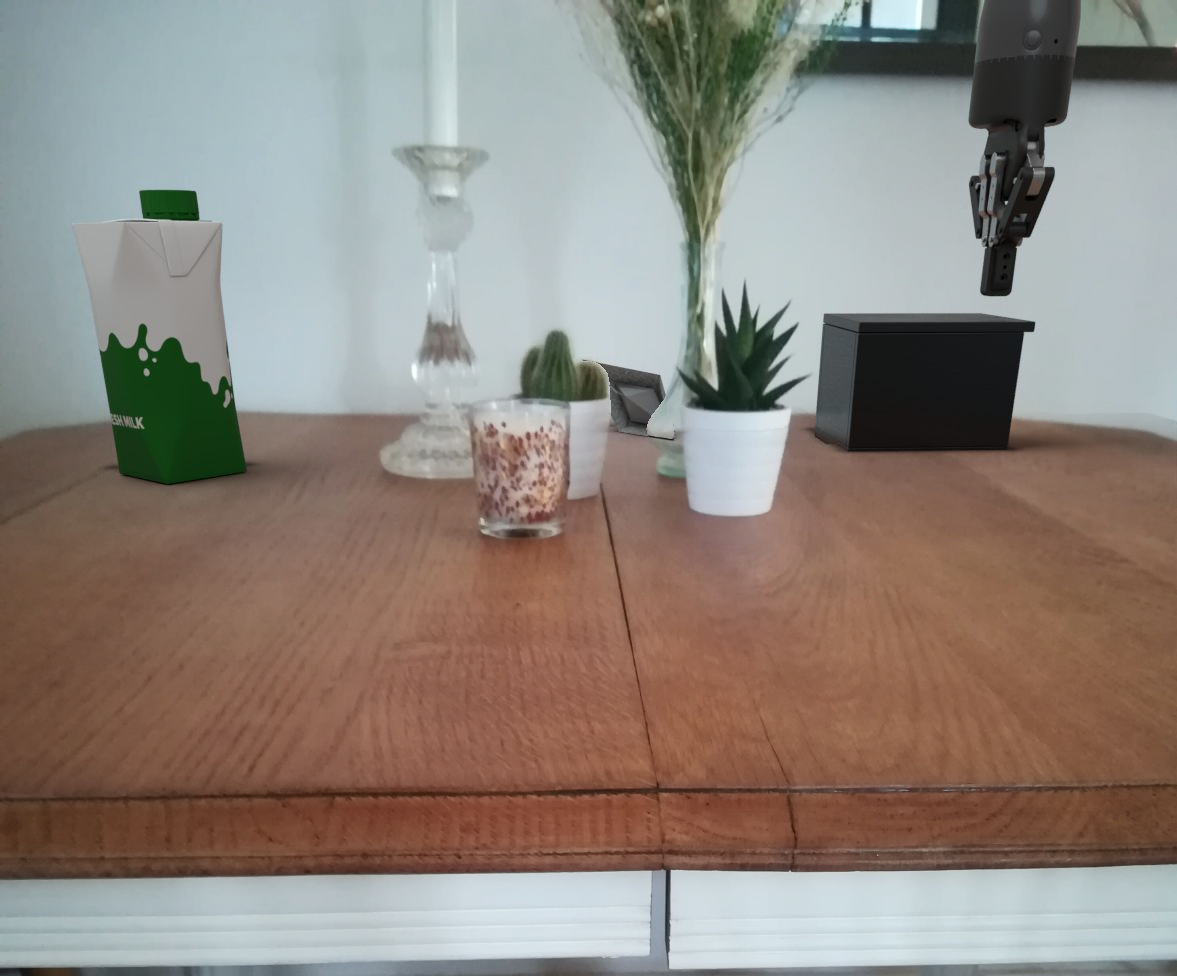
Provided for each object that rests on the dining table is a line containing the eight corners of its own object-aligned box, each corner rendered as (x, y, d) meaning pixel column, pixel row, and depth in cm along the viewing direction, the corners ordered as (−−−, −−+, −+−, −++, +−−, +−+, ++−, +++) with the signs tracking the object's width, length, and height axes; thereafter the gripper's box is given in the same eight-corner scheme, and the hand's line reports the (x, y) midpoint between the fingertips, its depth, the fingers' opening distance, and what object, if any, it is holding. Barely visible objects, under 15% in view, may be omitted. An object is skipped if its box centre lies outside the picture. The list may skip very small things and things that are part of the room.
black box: (956, 434, 109) (971, 322, 105) (1006, 456, 98) (1024, 332, 94) (814, 435, 109) (822, 323, 105) (847, 458, 97) (858, 333, 93)
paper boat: (716, 418, 111) (687, 402, 102) (675, 474, 113) (643, 462, 105) (625, 344, 113) (590, 322, 105) (587, 399, 116) (549, 382, 107)
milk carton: (263, 471, 92) (230, 190, 84) (160, 488, 86) (113, 185, 78) (201, 459, 98) (164, 193, 89) (100, 474, 91) (50, 189, 83)
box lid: (979, 322, 105) (981, 313, 105) (1034, 332, 94) (1036, 321, 94) (822, 323, 105) (823, 313, 104) (858, 332, 93) (859, 322, 93)
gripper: (1109, 43, 85) (1071, 298, 93) (1038, 68, 97) (1009, 292, 105) (1009, 44, 85) (978, 300, 92) (950, 69, 97) (927, 293, 104)
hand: (994, 295), depth 99 cm, fingers closed
